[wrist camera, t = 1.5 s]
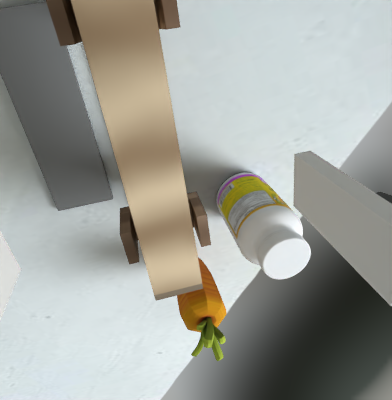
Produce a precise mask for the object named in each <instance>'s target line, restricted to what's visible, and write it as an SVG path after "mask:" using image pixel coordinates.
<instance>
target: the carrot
mask: <svg viewBox="0 0 392 400" xmlns="http://www.w3.org/2000/svg"><path fill="white" fill-rule="evenodd" d="M198 261H199V267H200V273H201V279H202V285H203V289H199V290H196V291H192V292H188V293H184V294H180V295H177V298H178V305H179V310H180V315H181V317H182V319H183V321H184V323H185V325H186V327H187V329H188V330H192V331H197V332H201V337H200V340H199V343H198V345H197V347H196V348H195V350H194V351H193V353H192V354H191V355H192V356H197V355H198V354H199V353H200V351H201V350H202V347H203V345H204V347H206V348H211V347H212V349H213V352H214V355H215V358H216V360H217V361H219V360H221V359H222V358H223V354H222V351H221V348H220V346H219V344H218V341H219V343H220V344H223V343H224V342H225V337H224V335H223V334H222V333H221V332H220V330H218V329H217V327H218V326H219V324H220V323H221V321H222V320H223V319H224V317H225V316H226V309H225V306H224V303H223V301H222V298H221V296H220V293H219V291H218V288H217V286H216V284H215V281H214V279H213V277H212V275H211V273H210V271H209V270H208V268H207V267H206V265H205V264H204V263H203V261H202V260H201V259H200V258H198ZM217 340H218V341H217Z"/></svg>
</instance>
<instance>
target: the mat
mask: <svg viewBox="0 0 392 400" xmlns="http://www.w3.org/2000/svg"><path fill="white" fill-rule="evenodd" d="M0 73H1V75H2V78H3V80H4V82H5V85H6V87H7V90H8V92H9V94H10V97H11V99H12V102H13V104H14V106H15V109H16V111H17V114H18V116H19V118H20V121H21V123H22V126H23V128H24V130H25V133H26V135H27V137H28V140H29V142H30V145H31V147H32V149H33V152H34V154H35V157H36V159H37V161H38V164H39V166H40V169H41V171H42V173H43V176H44V178H45V180H46V183H47V185H48V188H49V190H50V192H51V195H52V197H53V200H54V202H55V204H56V207H57V209H58V211H60V210H65V209H70V208H74V207H79V206H83V205H88V204H93V203H97V202H102V201H107V200H111V199H113V195H112V192H111V189H110V186H109V182H108V179H107V176H106V173H105V169H104V166H103V163H102V160H101V156H100V153H99V150H98V147H97V143H96V140H95V137H94V134H93V130H92V127H91V124H90V121H89V117H88V114H87V111H86V108H85V104H84V101H83V98H82V95H81V91H80V88H79V85H78V82H77V78H76V75H75V72H74V69H73V65H72V62H71V59H70V56H69V52H68V49H67V46H60V44H59V41H58V37H57V34H56V31H55V28H54V25H53V22H52V18H51V15H50V12H49V9H48V6H47V3H46V2H41V3H34V4H27V5H21V6H14V7H7V8H0Z"/></svg>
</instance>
